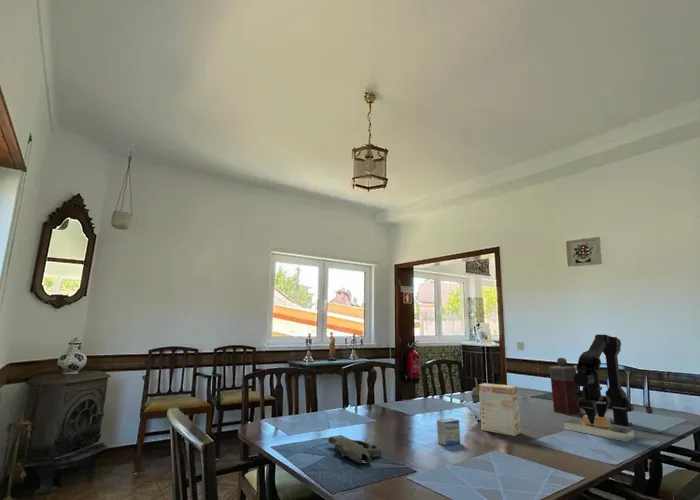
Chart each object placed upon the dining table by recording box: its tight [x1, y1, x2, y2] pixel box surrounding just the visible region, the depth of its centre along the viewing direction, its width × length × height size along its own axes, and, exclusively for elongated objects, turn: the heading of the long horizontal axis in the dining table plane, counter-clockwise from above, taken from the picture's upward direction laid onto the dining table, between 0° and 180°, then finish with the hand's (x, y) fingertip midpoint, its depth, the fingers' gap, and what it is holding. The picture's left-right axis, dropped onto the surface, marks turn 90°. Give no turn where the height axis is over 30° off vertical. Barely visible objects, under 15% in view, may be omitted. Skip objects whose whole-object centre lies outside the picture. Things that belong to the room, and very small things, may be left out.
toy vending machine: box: [549, 357, 582, 416], centre depth 208 cm, size 9×11×28 cm
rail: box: [563, 419, 635, 443], centre depth 167 cm, size 8×24×3 cm, turn 37°
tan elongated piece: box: [327, 436, 382, 464], centre depth 143 cm, size 5×25×15 cm
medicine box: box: [436, 418, 461, 447], centre depth 155 cm, size 8×4×9 cm, turn 117°
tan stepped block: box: [582, 414, 611, 429], centre depth 167 cm, size 4×9×6 cm, turn 37°
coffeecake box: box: [478, 382, 522, 437], centre depth 172 cm, size 15×7×20 cm, turn 47°
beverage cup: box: [470, 377, 480, 420], centre depth 192 cm, size 7×7×20 cm
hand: (596, 422), depth 167 cm, fingers open, 9 cm apart
